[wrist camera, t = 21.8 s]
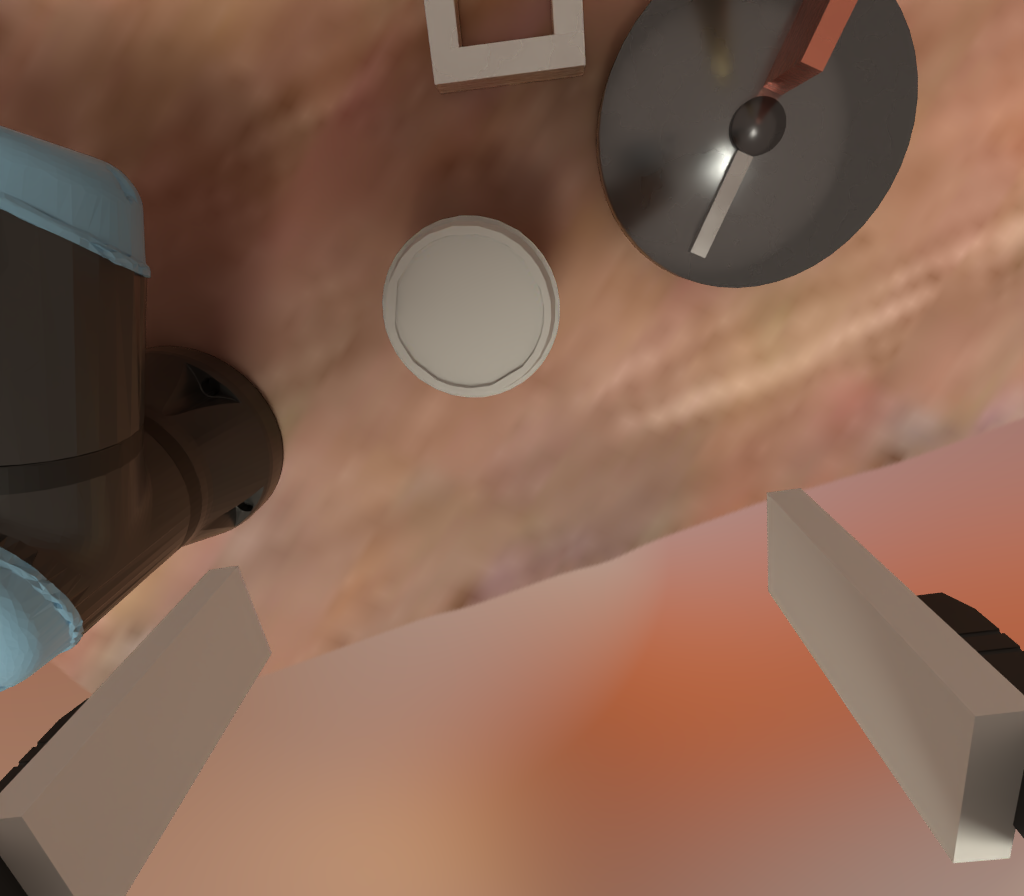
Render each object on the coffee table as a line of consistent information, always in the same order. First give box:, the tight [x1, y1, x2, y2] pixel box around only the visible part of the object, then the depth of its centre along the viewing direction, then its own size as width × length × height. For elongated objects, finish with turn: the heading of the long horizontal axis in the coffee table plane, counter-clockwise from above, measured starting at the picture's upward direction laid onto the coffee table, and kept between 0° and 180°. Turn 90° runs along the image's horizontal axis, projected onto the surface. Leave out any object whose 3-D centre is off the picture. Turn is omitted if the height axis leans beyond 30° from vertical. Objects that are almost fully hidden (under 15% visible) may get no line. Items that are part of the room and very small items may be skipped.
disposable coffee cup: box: [382, 215, 560, 397], centre depth 35 cm, size 10×10×12 cm
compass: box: [596, 0, 918, 288], centre depth 32 cm, size 18×18×7 cm
